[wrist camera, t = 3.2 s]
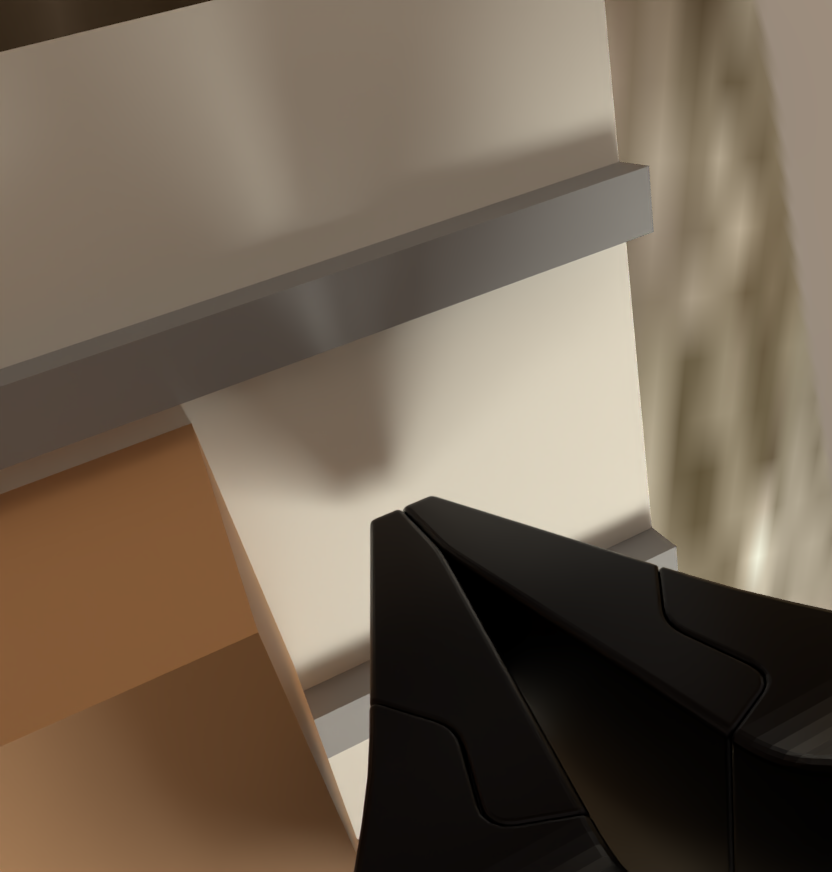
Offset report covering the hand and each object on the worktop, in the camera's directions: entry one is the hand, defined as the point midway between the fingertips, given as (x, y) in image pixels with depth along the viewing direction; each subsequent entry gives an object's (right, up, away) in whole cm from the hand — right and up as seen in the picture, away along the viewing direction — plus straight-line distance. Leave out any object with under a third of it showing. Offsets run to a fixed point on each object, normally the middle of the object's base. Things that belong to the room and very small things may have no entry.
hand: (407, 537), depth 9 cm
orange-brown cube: (-4, -1, 0) cm, 4 cm away
